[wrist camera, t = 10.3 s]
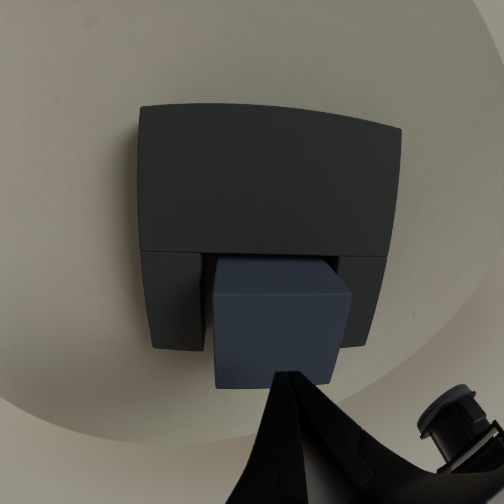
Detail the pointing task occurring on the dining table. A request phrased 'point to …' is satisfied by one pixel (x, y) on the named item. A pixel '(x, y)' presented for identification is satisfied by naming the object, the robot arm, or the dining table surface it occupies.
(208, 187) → the black arch block
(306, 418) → the robot arm
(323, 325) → the navy rounded cube
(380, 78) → the dining table surface
